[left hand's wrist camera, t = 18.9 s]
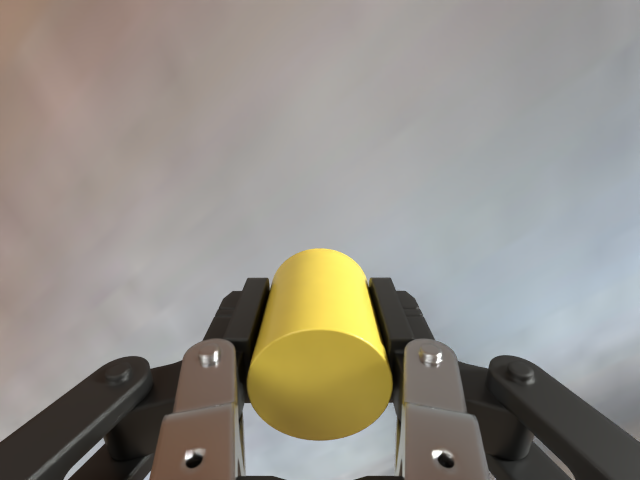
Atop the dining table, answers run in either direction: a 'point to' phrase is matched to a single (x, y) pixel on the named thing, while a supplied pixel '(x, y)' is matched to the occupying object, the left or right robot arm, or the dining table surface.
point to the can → (319, 350)
